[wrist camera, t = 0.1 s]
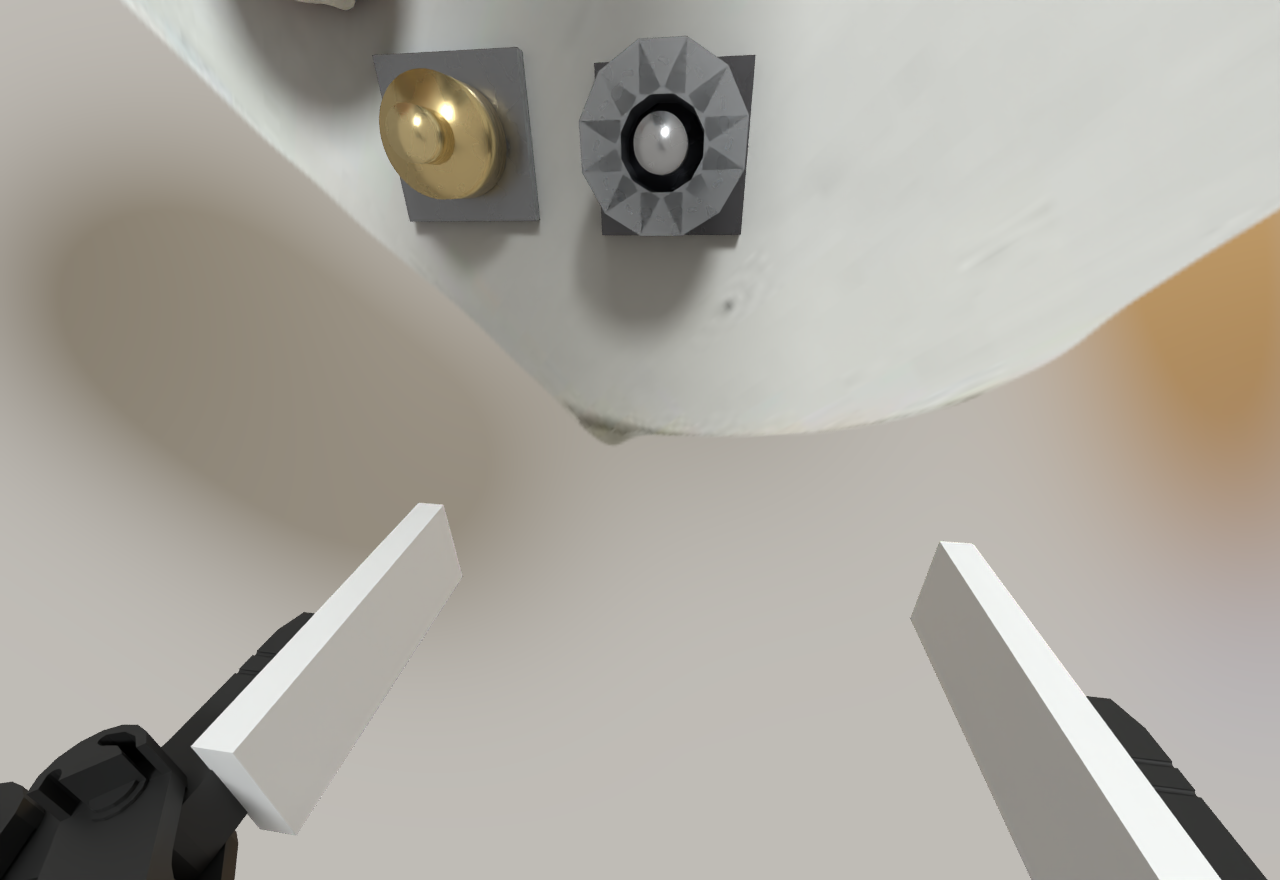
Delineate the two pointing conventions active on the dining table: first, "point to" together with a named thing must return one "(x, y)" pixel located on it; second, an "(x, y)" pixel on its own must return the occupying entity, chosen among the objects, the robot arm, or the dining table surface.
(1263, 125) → the dining table surface
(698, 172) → the grey faceted ring
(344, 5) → the burger
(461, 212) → the hub
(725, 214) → the stand
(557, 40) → the dining table surface
